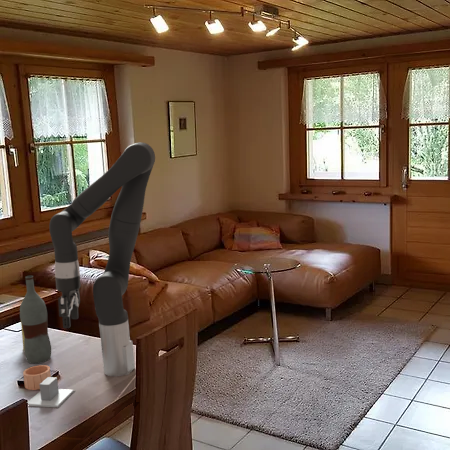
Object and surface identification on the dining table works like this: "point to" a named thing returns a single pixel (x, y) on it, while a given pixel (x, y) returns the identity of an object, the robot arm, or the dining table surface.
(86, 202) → the robot arm
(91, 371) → the dining table surface
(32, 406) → the mat
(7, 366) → the dining table surface
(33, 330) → the bottle
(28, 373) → the bowl
